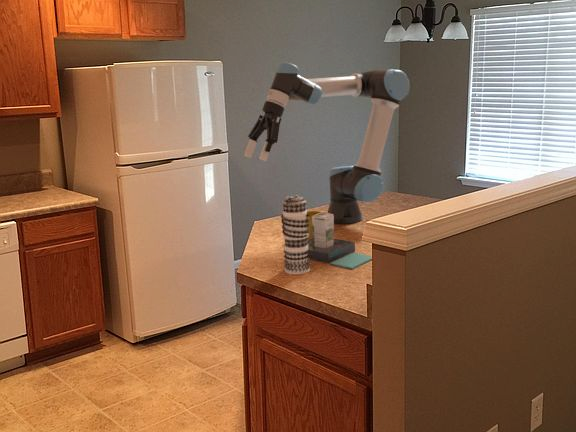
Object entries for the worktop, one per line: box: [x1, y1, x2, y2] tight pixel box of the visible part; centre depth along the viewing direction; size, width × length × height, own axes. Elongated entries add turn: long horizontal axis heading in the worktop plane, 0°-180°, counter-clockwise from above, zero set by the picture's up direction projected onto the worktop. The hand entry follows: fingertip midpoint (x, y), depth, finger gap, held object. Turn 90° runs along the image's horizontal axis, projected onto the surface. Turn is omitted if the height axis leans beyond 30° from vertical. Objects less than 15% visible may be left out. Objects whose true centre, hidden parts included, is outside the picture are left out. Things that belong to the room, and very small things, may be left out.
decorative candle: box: [280, 194, 311, 275], centre depth 208 cm, size 9×9×25 cm
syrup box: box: [312, 212, 335, 249], centre depth 225 cm, size 6×6×14 cm
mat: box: [329, 252, 372, 270], centre depth 216 cm, size 14×9×1 cm, turn 140°
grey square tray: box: [307, 237, 356, 264], centre depth 226 cm, size 16×16×4 cm
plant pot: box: [306, 210, 325, 240], centre depth 246 cm, size 10×10×10 cm
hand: (254, 158), depth 231 cm, fingers open, 13 cm apart
